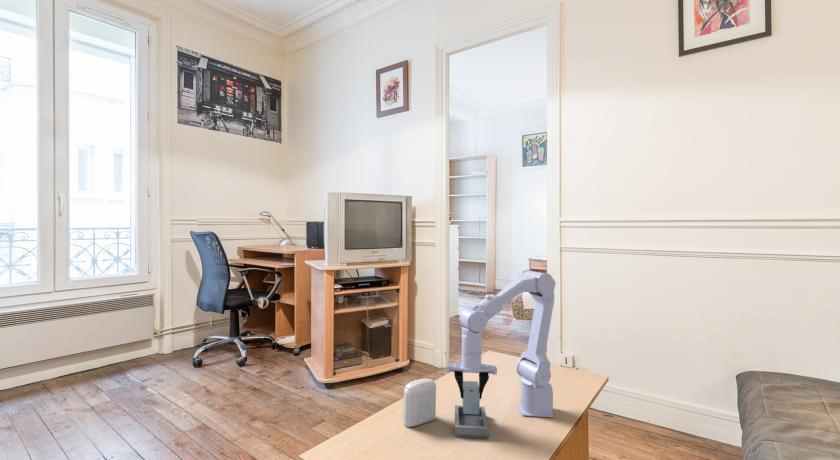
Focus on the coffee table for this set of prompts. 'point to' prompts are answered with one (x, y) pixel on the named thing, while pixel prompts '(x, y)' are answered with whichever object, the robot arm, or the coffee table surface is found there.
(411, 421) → the photo printer
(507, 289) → the robot arm
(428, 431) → the coffee table surface
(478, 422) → the lock cradle
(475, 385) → the block
